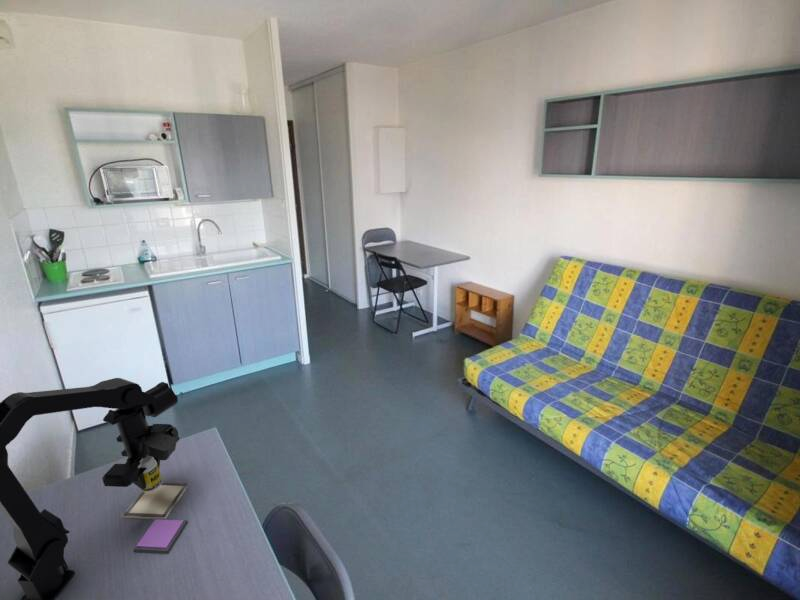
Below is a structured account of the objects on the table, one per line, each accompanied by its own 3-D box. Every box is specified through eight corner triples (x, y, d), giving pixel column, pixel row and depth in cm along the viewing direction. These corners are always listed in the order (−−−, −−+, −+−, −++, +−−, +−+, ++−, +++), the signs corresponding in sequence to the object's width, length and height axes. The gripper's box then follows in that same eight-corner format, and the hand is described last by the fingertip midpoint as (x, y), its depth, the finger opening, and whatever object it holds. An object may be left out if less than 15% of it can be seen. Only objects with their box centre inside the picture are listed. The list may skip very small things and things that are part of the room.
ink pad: (168, 553, 93) (166, 549, 93) (133, 551, 94) (132, 547, 94) (187, 522, 101) (186, 518, 100) (156, 521, 102) (154, 517, 101)
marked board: (165, 519, 102) (164, 517, 102) (122, 517, 103) (121, 516, 103) (189, 484, 112) (189, 482, 112) (150, 482, 113) (149, 481, 113)
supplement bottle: (156, 492, 103) (147, 465, 100) (137, 493, 103) (127, 466, 100) (166, 477, 108) (158, 451, 104) (148, 477, 108) (139, 451, 105)
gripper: (140, 457, 90) (158, 513, 95) (188, 405, 107) (200, 454, 113) (91, 456, 91) (111, 511, 96) (146, 404, 108) (161, 453, 114)
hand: (150, 480), depth 105 cm, fingers closed on supplement bottle, 5 cm apart
